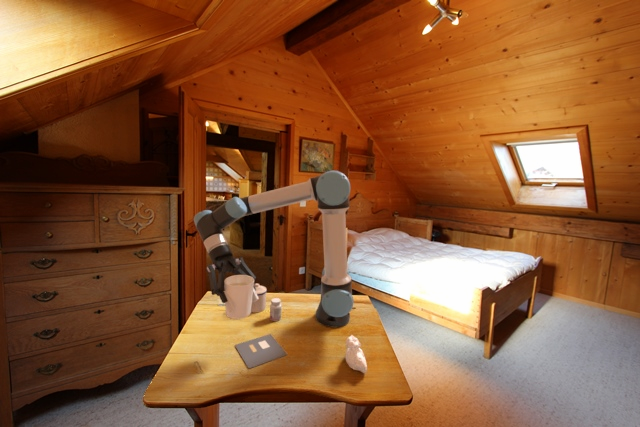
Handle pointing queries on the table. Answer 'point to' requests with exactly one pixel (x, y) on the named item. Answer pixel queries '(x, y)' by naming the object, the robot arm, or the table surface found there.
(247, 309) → the candle holder
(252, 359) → the gray tile
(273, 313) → the pill bottle
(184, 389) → the table surface
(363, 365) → the bust
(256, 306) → the teacup with lid
